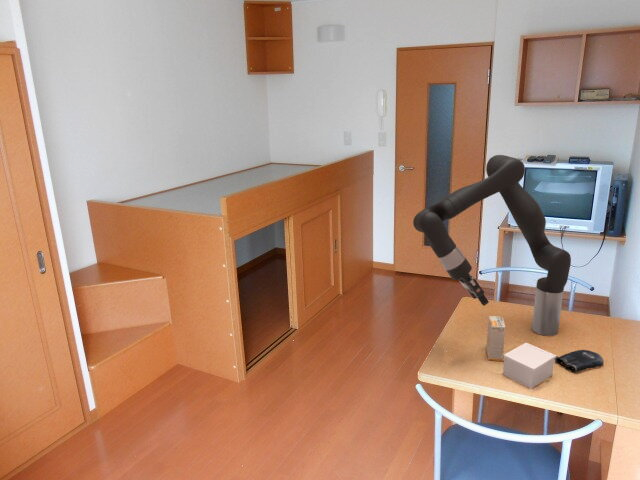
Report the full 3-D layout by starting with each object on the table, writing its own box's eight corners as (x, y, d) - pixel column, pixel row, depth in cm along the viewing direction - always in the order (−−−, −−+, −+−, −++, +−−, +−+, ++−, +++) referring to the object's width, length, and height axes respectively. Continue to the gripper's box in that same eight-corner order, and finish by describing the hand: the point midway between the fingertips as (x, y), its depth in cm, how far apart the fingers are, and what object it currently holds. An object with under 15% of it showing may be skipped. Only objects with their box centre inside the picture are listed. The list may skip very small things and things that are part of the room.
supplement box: (503, 361, 168) (506, 327, 164) (488, 360, 169) (491, 326, 165) (499, 349, 176) (502, 316, 172) (485, 348, 177) (488, 315, 173)
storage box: (523, 361, 168) (526, 342, 166) (553, 375, 160) (556, 355, 158) (501, 374, 161) (503, 354, 159) (531, 389, 153) (534, 369, 151)
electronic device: (577, 380, 160) (610, 364, 164) (575, 365, 158) (608, 349, 163) (553, 369, 168) (585, 354, 173) (552, 355, 167) (584, 339, 172)
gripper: (471, 259, 155) (499, 299, 158) (456, 251, 169) (482, 288, 172) (452, 273, 156) (479, 313, 158) (439, 264, 170) (464, 301, 172)
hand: (481, 300), depth 165 cm, fingers open, 8 cm apart
